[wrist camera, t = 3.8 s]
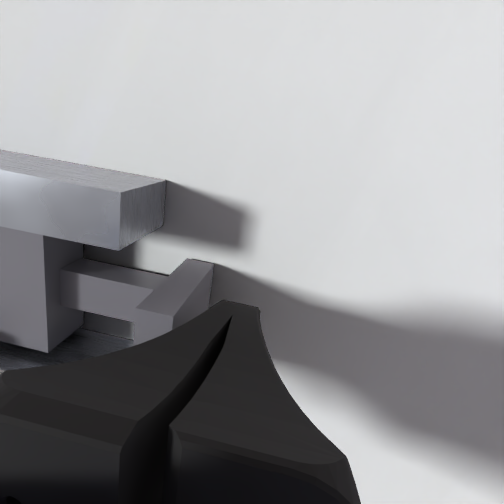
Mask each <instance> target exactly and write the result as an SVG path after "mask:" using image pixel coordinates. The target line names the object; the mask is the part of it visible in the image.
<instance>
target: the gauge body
mask: <svg viewBox="0 0 504 504" xmlns="http://www.w3.org/2000/svg"><path fill="white" fill-rule="evenodd" d="M165 192H166V180H163V179H157V178H152V177H146V176H141V175H135V174H130V173H124V172H119V171H113V170H108V169H103V168H97V167H92V166H86V165H81V164H75V163H70V162H64V161H59V160H53V159H48V158H42V157H37V156H31V155H26V154H20V153H15V152H9V151H4V150H0V226H1V227H6V228H11V229H16V230H21V231H26V232H30V233H35V234H40V235H45V236H50V237H54V238H59V239H64V240H69V241H74V242H79V243H83V244H88V245H93V246H98V247H103V248H108V249H112V250H117V251H120V250H121V249H123V248H125V247H127V246H128V245H130V244H132V243H134V242H135V241H137V240H139V239H140V238H142V237H144V236H146V235H147V234H149V233H151V232H153V231H154V230H156V229H158V228H160V227H161V226H163V219H164V205H165ZM133 343H134V341H133V340H128V339H124V338H120V337H116V336H111V335H107V334H103V333H99V332H94V331H90V330H86V329H81V328H78V329H77V330H76V331H74V332H73V333H72V334H71V335H70V336H68V337H67V338H66V339H65V340H63V341H62V342H61V343H60V344H58V345H57V346H56V347H55V348H53V349H52V350H51V351H50V352H48V353H47V352H43V351H39V350H35V349H31V348H27V347H23V346H18V345H14V344H10V343H6V342H2V341H0V374H1V373H3V372H4V371H6V370H15V369H24V368H32V367H40V366H48V365H55V364H62V363H67V362H73V361H78V360H83V359H88V358H92V357H97V356H101V355H105V354H108V353H112V352H115V351H118V350H122V349H125V348H129V347H132V346H133Z"/></svg>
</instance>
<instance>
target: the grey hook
mask: <svg viewBox="0 0 504 504" xmlns="http://www.w3.org/2000/svg"><path fill="white" fill-rule="evenodd" d="M213 269H214V264H212V263H207V262H202V261H197V260H192V259H186V260H185V261H184V262H183V263H182V264H181V265H180V266H179V267H178V268H177V269H176V270H174V271H173V272H172V273H171V274H170V275H169V276H163V275H159V274H154V273H149V272H145V271H140V270H135V269H130V268H126V267H121V266H116V265H112V264H107V263H102V262H97V261H93V260H88V259H83V243H79V242H74V241H69V240H64V239H59V238H54V237H50V236H45V235H40V234H35V233H30V232H26V231H21V230H16V229H11V228H6V227H1V226H0V341H2V342H6V343H10V344H14V345H18V346H23V347H27V348H31V349H35V350H39V351H43V352H47V353H48V352H50V351H51V350H52V349H53V348H55V347H56V346H57V345H58V344H60V343H61V342H62V341H63V340H65V339H66V338H67V337H68V336H70V335H71V334H72V333H73V332H74V331H76V330H77V329H78V328H79V327H81V326H82V325H83V311H86V312H90V313H95V314H99V315H104V316H108V317H112V318H117V319H121V320H126V321H130V322H134V343H133V346H135V345H138V344H141V343H143V342H146V341H148V340H151V339H154V338H156V337H158V336H161V335H163V334H165V333H167V332H169V331H171V330H173V329H175V328H177V327H179V326H181V325H183V324H185V323H186V322H188V321H190V320H192V319H193V318H195V317H197V316H198V315H200V314H202V313H203V312H205V311H206V310H208V308H209V301H210V293H211V285H212V277H213Z"/></svg>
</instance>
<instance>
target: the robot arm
mask: <svg viewBox="0 0 504 504" xmlns="http://www.w3.org/2000/svg"><path fill="white" fill-rule="evenodd" d="M0 504H361V502H360V498H359V495H358V491H357V488H356V484H355V481H354V477H353V474H352V471H351V468H350V465H349V462H348V459H347V457H346V456H345V455H344V454H343V453H342V452H341V451H340V450H339V449H338V448H337V447H336V446H335V445H334V444H333V443H332V442H331V441H330V440H329V439H328V438H327V437H326V436H325V435H324V434H323V433H321V432H320V431H319V430H318V429H317V427H316V426H315V425H314V424H313V423H312V422H311V421H310V420H309V418H308V417H307V416H306V415H305V414H304V413H303V411H302V410H301V409H300V407H299V406H298V405H297V403H296V402H295V401H294V399H293V398H292V396H291V395H290V394H289V392H288V390H287V389H286V387H285V385H284V384H283V382H282V380H281V378H280V376H279V375H278V373H277V371H276V369H275V367H274V364H273V362H272V360H271V357H270V355H269V352H268V350H267V347H266V344H265V340H264V337H263V333H262V329H261V324H260V310H259V308H258V307H254V306H249V305H244V304H240V303H235V302H230V301H226V300H222V301H220V302H219V303H217V304H216V305H214V306H212V307H211V308H209V309H208V310H206V311H205V312H203V313H202V314H200V315H198V316H197V317H195V318H193V319H192V320H190V321H188V322H186V323H185V324H183V325H181V326H179V327H177V328H175V329H173V330H171V331H169V332H167V333H165V334H163V335H161V336H158V337H156V338H154V339H151V340H148V341H146V342H143V343H141V344H138V345H135V346H132V347H129V348H125V349H122V350H118V351H115V352H112V353H108V354H105V355H101V356H97V357H92V358H88V359H83V360H78V361H73V362H67V363H62V364H55V365H48V366H40V367H32V368H24V369H15V370H6V371H4V372H3V373H1V374H0Z"/></svg>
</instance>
